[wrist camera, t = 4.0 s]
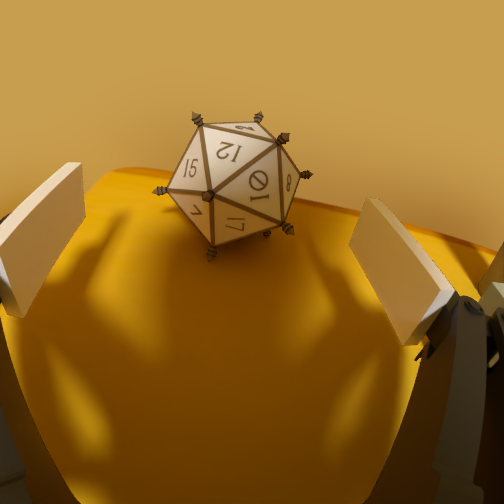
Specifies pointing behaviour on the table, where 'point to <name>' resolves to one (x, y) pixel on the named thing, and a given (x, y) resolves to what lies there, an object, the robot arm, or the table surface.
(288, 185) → the game die
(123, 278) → the table surface
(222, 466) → the table surface
